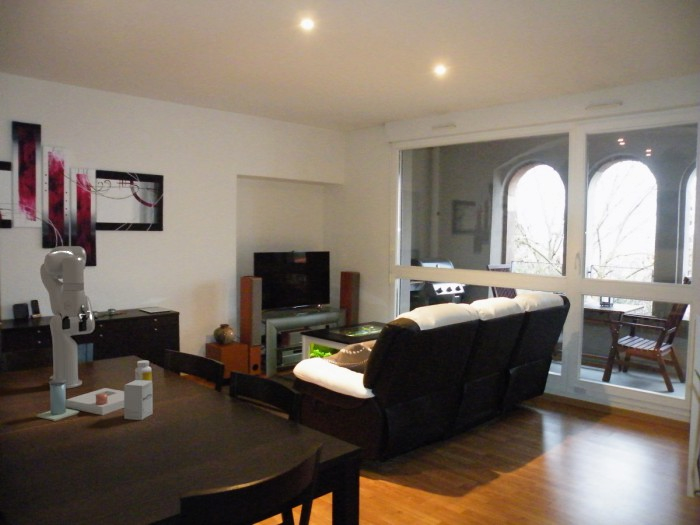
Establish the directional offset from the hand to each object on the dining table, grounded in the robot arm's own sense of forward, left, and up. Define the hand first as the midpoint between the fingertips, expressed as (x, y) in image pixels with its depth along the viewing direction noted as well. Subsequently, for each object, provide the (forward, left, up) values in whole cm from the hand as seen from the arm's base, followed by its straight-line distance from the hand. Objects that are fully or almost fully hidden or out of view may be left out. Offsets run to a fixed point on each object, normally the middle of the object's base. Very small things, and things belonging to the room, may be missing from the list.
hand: (74, 330), depth 218 cm
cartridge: (+10, -15, -28) cm, 33 cm away
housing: (+15, +1, -28) cm, 32 cm away
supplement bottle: (+15, +21, -28) cm, 38 cm away
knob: (+21, -5, -27) cm, 34 cm away
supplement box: (+38, -3, -28) cm, 48 cm away
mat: (+10, -15, -28) cm, 34 cm away
